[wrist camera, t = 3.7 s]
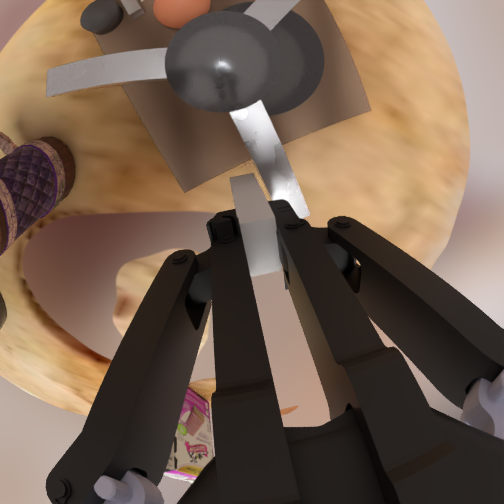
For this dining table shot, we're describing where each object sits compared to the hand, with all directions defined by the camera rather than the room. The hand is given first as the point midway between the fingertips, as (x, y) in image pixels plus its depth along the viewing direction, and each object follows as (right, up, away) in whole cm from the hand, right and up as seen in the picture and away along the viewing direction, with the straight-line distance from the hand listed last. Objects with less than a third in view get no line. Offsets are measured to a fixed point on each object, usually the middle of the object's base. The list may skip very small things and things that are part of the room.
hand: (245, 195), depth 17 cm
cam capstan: (-1, +8, +1) cm, 8 cm away
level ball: (-5, +14, -3) cm, 16 cm away
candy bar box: (-12, -28, +25) cm, 39 cm away
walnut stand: (-1, +13, 0) cm, 13 cm away
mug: (-20, +6, +2) cm, 21 cm away
